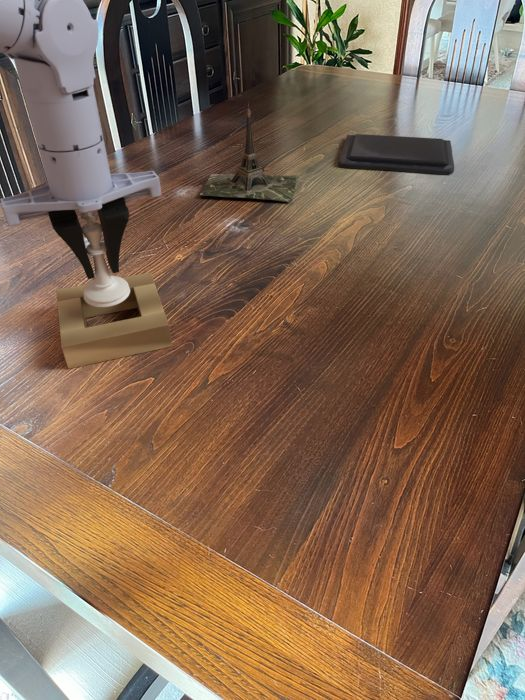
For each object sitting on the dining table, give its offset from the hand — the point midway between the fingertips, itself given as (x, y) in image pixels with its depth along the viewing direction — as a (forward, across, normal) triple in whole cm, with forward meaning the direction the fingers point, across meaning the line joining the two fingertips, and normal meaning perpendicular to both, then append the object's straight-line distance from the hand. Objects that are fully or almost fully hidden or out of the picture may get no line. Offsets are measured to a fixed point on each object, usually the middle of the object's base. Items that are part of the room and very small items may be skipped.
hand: (101, 271), depth 58 cm
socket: (+8, 0, 0) cm, 8 cm away
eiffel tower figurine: (+8, +29, +28) cm, 41 cm away
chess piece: (+3, 0, 0) cm, 3 cm away
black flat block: (+8, +58, +29) cm, 66 cm away
